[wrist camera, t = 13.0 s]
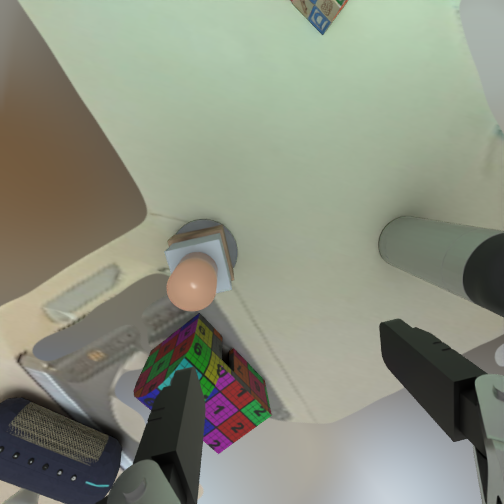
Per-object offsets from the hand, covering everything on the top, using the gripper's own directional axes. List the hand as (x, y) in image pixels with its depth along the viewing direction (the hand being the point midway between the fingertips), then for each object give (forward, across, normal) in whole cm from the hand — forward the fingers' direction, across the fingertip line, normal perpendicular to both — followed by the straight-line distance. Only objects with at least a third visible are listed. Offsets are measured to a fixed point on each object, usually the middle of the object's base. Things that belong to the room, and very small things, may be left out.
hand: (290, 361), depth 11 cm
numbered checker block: (+35, +13, +28) cm, 46 cm away
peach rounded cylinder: (+23, +7, +2) cm, 24 cm away
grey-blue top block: (+28, +7, +2) cm, 29 cm away
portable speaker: (+34, +41, +30) cm, 61 cm away
